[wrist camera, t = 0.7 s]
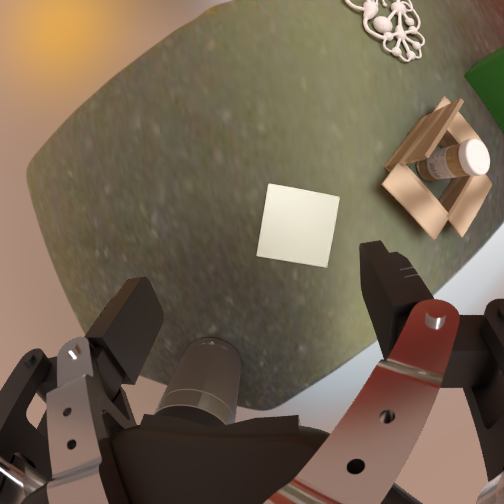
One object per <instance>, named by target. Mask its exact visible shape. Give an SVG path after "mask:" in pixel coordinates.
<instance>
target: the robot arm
mask: <svg viewBox="0 0 504 504" xmlns="http://www.w3.org/2000/svg"><path fill="white" fill-rule="evenodd" d="M359 251H360V277H361V290H362V295H363V298H364V301H365V304H366V307H367V310H368V312H369V315H370V318H371V321H372V324H373V327H374V330H375V333H376V336H377V339H378V342H379V345H380V348H381V351H382V354H383V358H384V360H383V359H382V360H380V361H379V362H378V364H377V365H376V367H375V368H374V370H373V372H372V373H371V375H370V377H369V378H368V380H367V382H366V383H365V385H364V386H363V388H362V389H361V391H360V393H359V394H358V396H357V397H356V399H355V401H354V402H353V403H352V405H351V406H350V408H349V409H348V410H347V412H346V413H345V415H344V416H343V418H342V419H341V420H340V422H339V423H338V425H337V426H336V427H335V429H334V430H333V431H332V433H331V434H330V433H328V432H325V431H322V430H319V429H314V428H310V427H304V426H301V425H300V420H299V415H293V416H281V417H264V418H254V419H250V420H245V421H242V422H237V423H235V417H236V408H237V399H238V391H239V382H240V374H241V359H240V356H239V354H238V352H237V351H236V350H235V349H234V347H233V346H231V345H230V344H229V343H227V342H225V341H223V340H221V339H217V338H202V339H198V340H196V341H194V342H193V343H191V344H190V345H189V346H188V348H187V349H186V351H185V353H184V355H183V357H182V359H181V361H180V362H179V364H178V366H177V368H176V370H175V372H174V374H173V376H172V378H171V380H170V382H169V384H168V386H167V388H166V390H165V392H164V394H163V396H162V398H161V401H160V403H159V405H158V407H157V409H156V411H155V413H154V415H148V414H144V416H143V419H142V421H141V424H140V425H137V424H136V422H135V419H134V416H133V413H132V411H131V408H130V405H129V402H128V399H127V396H126V393H125V391H124V390H123V389H122V387H121V384H131V385H135V383H136V381H137V378H138V376H139V374H140V372H141V369H142V367H143V365H144V363H145V360H146V358H147V356H148V354H149V351H150V349H151V347H152V345H153V343H154V341H155V338H156V336H157V334H158V332H159V330H160V328H161V326H162V323H163V310H162V307H161V305H160V303H159V301H158V299H157V296H156V294H155V292H154V290H153V288H152V285H151V283H150V281H149V280H148V278H146V277H140V278H133V279H128V280H127V281H126V282H125V284H124V285H123V286H122V288H121V289H120V290H119V292H118V293H117V294H116V296H115V297H113V298H112V299H111V300H110V301H109V303H108V304H107V305H106V307H105V308H104V310H103V311H102V312H101V314H100V317H98V318H97V319H96V321H95V322H94V324H93V325H92V327H91V328H90V329H89V331H88V332H87V334H86V335H85V337H77V338H74V339H72V340H70V341H68V342H67V343H66V344H64V346H62V348H61V349H60V350H59V353H58V355H57V356H56V357H52V358H47V357H46V355H45V354H44V352H43V351H42V350H41V349H33V350H31V351H29V352H28V353H26V354H25V355H24V356H23V357H22V358H21V360H20V361H19V363H18V364H17V366H16V367H15V369H14V370H13V372H12V373H11V375H10V376H9V378H8V379H7V381H6V383H5V384H4V386H3V388H2V389H1V391H0V504H422V503H421V502H419V501H418V500H417V499H415V498H414V497H412V496H411V495H410V494H409V493H407V492H406V491H405V490H404V489H402V488H401V487H400V486H398V485H397V484H396V483H395V480H396V478H397V477H398V475H399V473H400V472H401V470H402V468H403V466H404V465H405V463H406V461H407V459H408V457H409V455H410V454H411V452H412V450H413V448H414V446H415V444H416V442H417V440H418V438H419V435H420V434H421V431H422V429H423V427H424V425H425V423H426V421H427V418H428V416H429V414H430V411H431V409H432V406H433V404H434V402H435V399H436V396H437V394H438V391H439V389H440V388H463V390H464V393H465V396H466V399H467V402H468V405H469V407H470V411H471V414H472V417H473V420H474V424H475V427H476V431H477V434H478V438H479V441H480V445H481V449H482V454H483V458H484V462H485V467H486V471H487V476H488V481H489V482H488V483H487V484H486V485H485V487H484V488H483V489H482V491H481V492H480V494H479V496H478V499H477V502H476V504H504V299H495V300H493V301H491V302H490V303H489V304H488V305H487V306H486V309H485V312H484V315H459V312H458V311H457V309H456V308H455V307H454V306H453V305H451V304H450V303H448V302H446V301H443V300H438V299H434V297H433V296H432V294H431V293H430V291H429V290H428V288H427V287H426V285H425V284H424V282H423V281H422V279H421V278H420V276H419V275H418V273H417V272H416V270H415V269H414V268H413V266H412V264H411V263H410V262H409V260H408V259H407V258H406V257H404V256H403V255H401V254H399V253H398V252H392V253H389V252H388V250H387V249H386V247H385V246H384V244H383V243H382V241H380V240H379V241H373V242H366V243H361V244H360V247H359ZM35 393H37V394H38V395H39V396H40V397H41V398H42V400H43V401H44V402H45V403H46V405H47V409H46V411H45V413H44V415H43V417H42V419H41V421H40V423H39V425H38V427H37V429H36V428H35V427H34V426H33V425H32V424H30V423H29V421H28V419H27V417H26V411H27V408H28V406H29V404H30V403H31V401H32V399H33V397H34V395H35Z"/></svg>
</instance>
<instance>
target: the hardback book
mask: <svg viewBox="0 0 504 504" xmlns="http://www.w3.org/2000/svg"><path fill="white" fill-rule="evenodd" d="M464 77H465V78H466V79H467V81H468V82H469V83H470V84H471V86H472V87H473V88H474V90H475V91H476V93H477V94H478V95H479V97H480V98H481V100H482V101H483V102H484V104H485V105H486V107H487V108H488V110H489V111H490V113H491V114H492V116H493V117H494V119H495V121H496V122H497V124H498V125H499V127H500V129H501V130H502V132H503V134H504V46H503V47H501V48H500V49H498V50H496V51H494V52H493V53H491V54H489V55H488V56H486V57H484V58H483V59H481V60H479V61H478V62H476V64H475V65H474V66H473V67H472V68H471V69H470V70H469V71H468V72H467V73H466V74H465V75H464Z"/></svg>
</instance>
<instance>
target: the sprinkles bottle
mask: <svg viewBox="0 0 504 504" xmlns="http://www.w3.org/2000/svg"><path fill="white" fill-rule="evenodd" d="M489 166H490V157H489V153H488V151H487V148H486V147H485V145H484V144H483V143H482V142H481V141H480V140H478V139H469V140H465V141H463V142H462V143H460V144H457V145H452V146H449V147H445V148H442V149H438V150H435V151H433V152H432V154H431V155H430V157H429V158H428V159H425V160H421V161H417V163H416V167H417V171H418V173H419V175H420V176H421V178H422V179H424V180H426V181H434V180H439V179H449V178H455V177H462V176H468V175H469V176H480V175H484V174H485V173H486V172H487V171H488V169H489Z"/></svg>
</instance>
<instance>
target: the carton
mask: <svg viewBox="0 0 504 504" xmlns="http://www.w3.org/2000/svg"><path fill="white" fill-rule="evenodd" d="M463 102H464V101H463V100H462V99H461V98H460V99H458V100H456V101H454V102H452V103H450V102H449V101H448V99H447V98H446V97H445V96H444V97H443V98H442V100H441V101H440V103H439V104H438V106H437V107H436V109H435V110H434V111H433V112H432V113H430V114H428V115H426V116H424V117H422V118H421V119H419V120H418V121H417V123H416V124H415V126H414V127H413V128H412V130H411V131H410V133H409V134H408V135H407V137H406V138H405V139H404V141H403V142H402V144H401V145H400V146H399V148H398V149H397V150H396V152H395V153H394V154H393V156H392V157H391V158H390V160H389V161H388V162H387V164H386V165H385V166H384V168H385V169H386V170H387V171H388V172H389V175H388V176H387V177H386V179H385V180H384V181H383V183H382V184H381V185H382V186H383V187H384V188H385V189H386V190H387V191H388V192H389V193H390V194H391V195H392V196H393V197H394V198H395V199H396V200H397V201H398V202H399V203H400V204H401V205H402V206H403V207H404V208H405V209H406V210H407V211H408V213H409V214H410V215H411V216H412V217H413V218H414V219H415V220H416V221H417V222H418V224H419V225H420V226H421V227H422V228H423V229H424V230H425V231H426V233H427V234H428V235H429V236H430V237H431V238H432V240H435V239H436V237H437V236H438V234H439V233H440V231H441V230H442V228H443V227H444V225H445V224H446V222H447V220H448V221H449V222H450V223H451V225H452V226H453V227H454V229H455V230H456V231H457V232H458V234H459V235H460V236H461V237H463V236H464V234H465V232H466V231H467V229H468V227H469V226H470V224H471V222H472V221H473V219H474V217H475V216H476V214H477V212H478V210H479V208H480V207H481V205H482V203H483V201H484V199H485V198H486V196H487V194H488V192H489V190H490V188H491V186H492V183H491V182H490V180H489V179H488V177H487V176H486V174H484V175H480V176H469V175H468V176H462V177H455V178H452V180H451V181H450V183H449V185H448V186H447V188H446V189H445V191H444V193H443V194H442V196H441V197H440V199H439V200H437V199H436V198H435V196H434V195H433V194H432V193H431V192H430V191H429V190H428V188H427V187H426V186H425V185H424V184H423V183H422V182H421V180H420V179H419V178H418V177H417V176H416V175H415V174H414V173H413V172H412V171H411V170H410V169H409V168H408V166H407V165H406V164H410V163H413V162H417V161H421V160H425V159H428V158H429V157H430V155H431V154H432V152H433V151H434V149H435V148H436V146H437V145H439V146H440V147H441V148H445V147H449V146H452V145H457V144H460V143H462V142H463V141H465V140H469V139H478V140H480V141H481V139H480V138H479V137H478V135H477V134H476V133H475V131H474V130H473V129H472V128H471V126H470V125H469V124H468V123H467V121H466V120H465V119H464V118H463V117H462V115H461V114H460V113H459V112H458V111H459V109H460V107H461V106H462V104H463ZM481 142H482V141H481ZM482 143H483V142H482ZM483 144H484V143H483ZM485 147H486V146H485ZM486 148H487V147H486ZM487 150H488V149H487Z"/></svg>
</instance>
